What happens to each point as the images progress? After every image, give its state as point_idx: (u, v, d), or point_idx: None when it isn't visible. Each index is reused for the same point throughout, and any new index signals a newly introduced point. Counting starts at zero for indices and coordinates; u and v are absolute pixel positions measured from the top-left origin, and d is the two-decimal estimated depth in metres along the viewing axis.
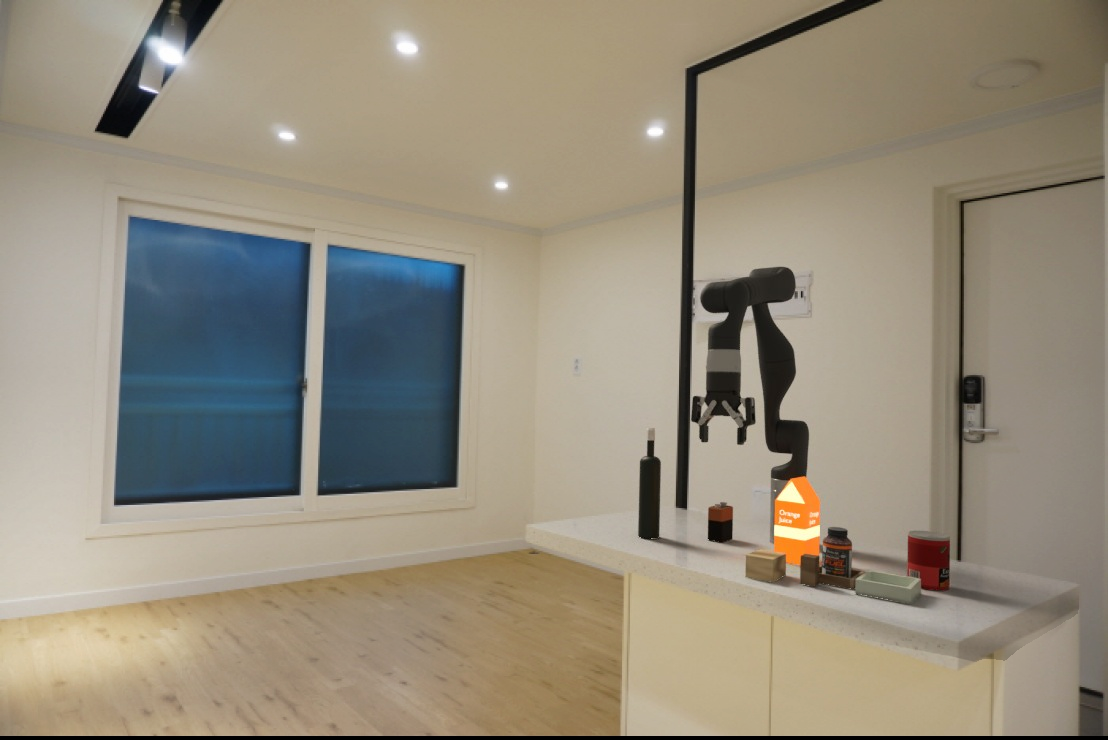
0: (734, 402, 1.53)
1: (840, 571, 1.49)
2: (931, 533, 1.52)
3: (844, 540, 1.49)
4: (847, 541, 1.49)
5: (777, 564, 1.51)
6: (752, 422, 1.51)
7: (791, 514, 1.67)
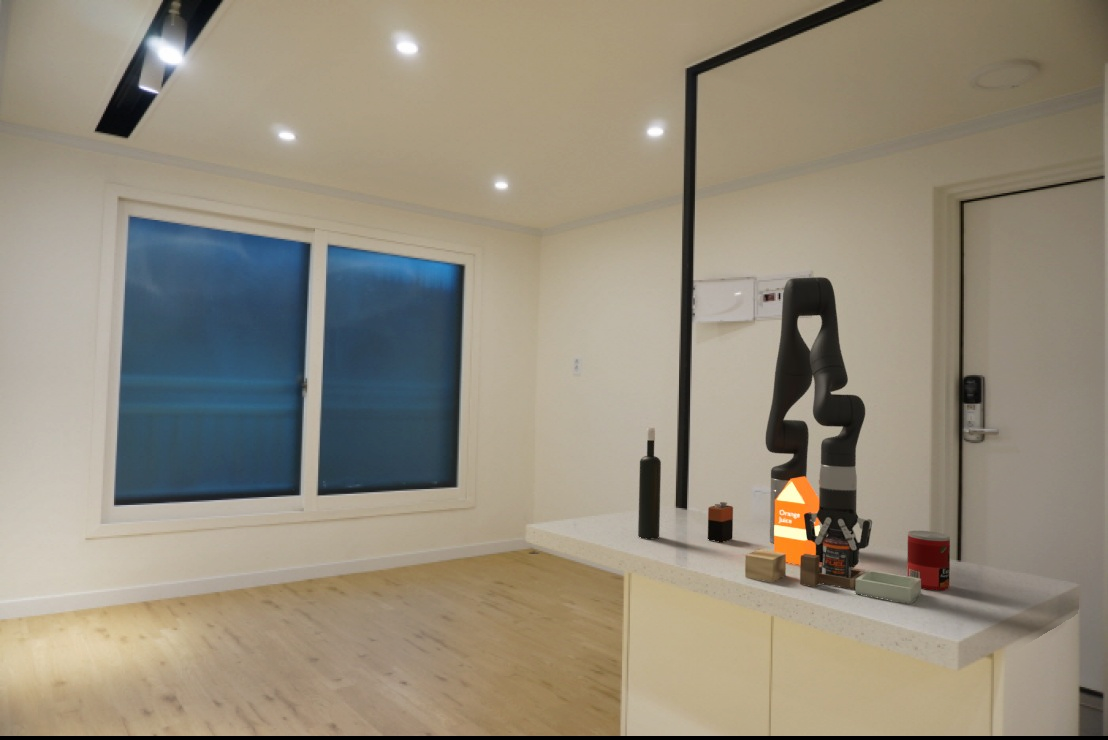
0: (851, 521, 1.49)
1: (840, 571, 1.49)
2: (931, 533, 1.52)
3: (844, 540, 1.49)
4: None
5: (777, 564, 1.51)
6: (866, 546, 1.48)
7: (791, 514, 1.67)
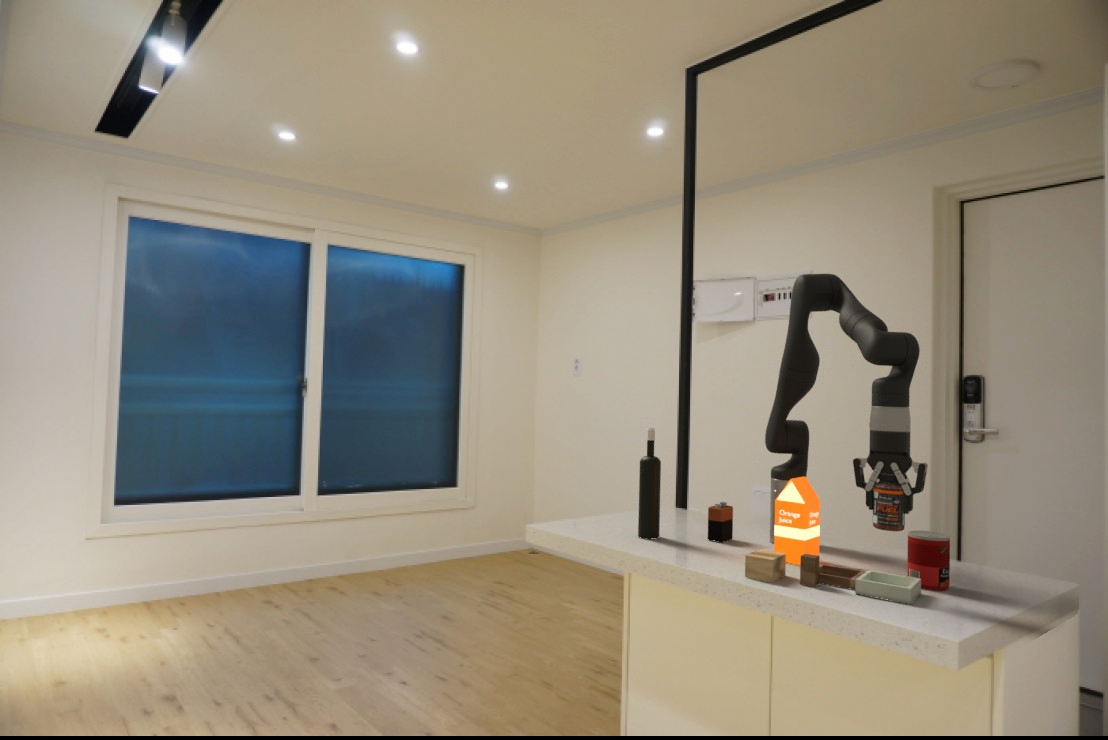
0: (905, 465, 1.40)
1: (893, 517, 1.40)
2: (931, 533, 1.52)
3: (897, 485, 1.41)
4: (901, 486, 1.41)
5: (776, 564, 1.51)
6: (921, 490, 1.39)
7: (791, 514, 1.66)
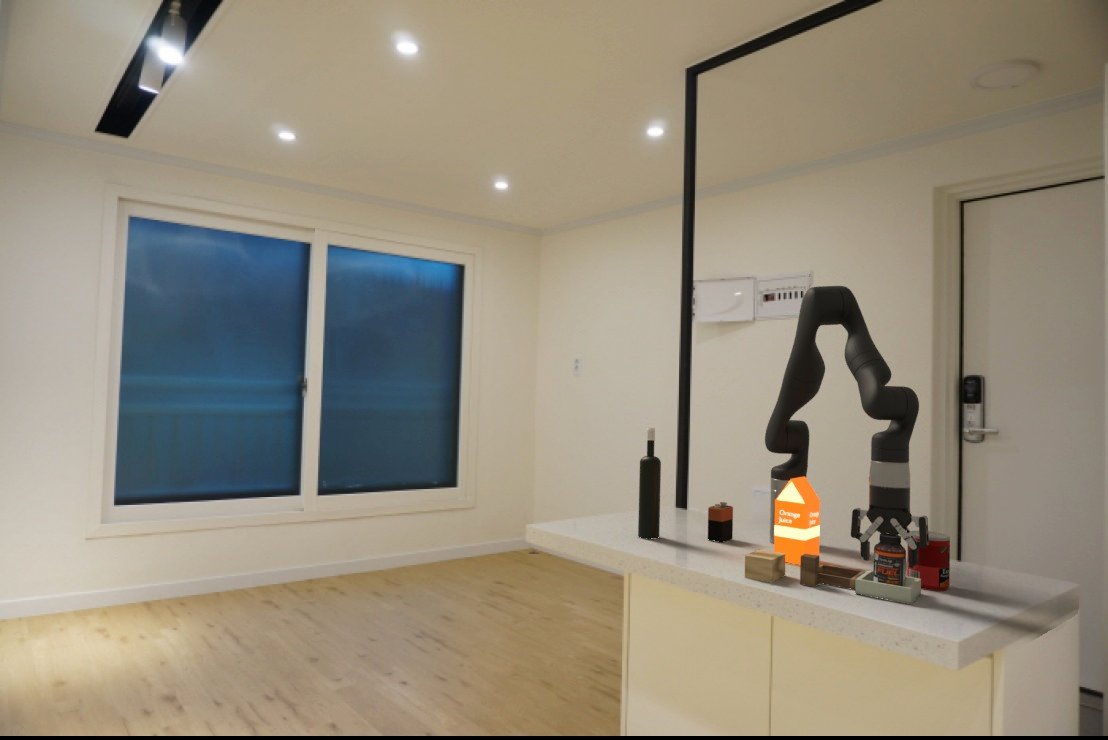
0: (905, 521, 1.40)
1: (894, 580, 1.39)
2: (931, 533, 1.52)
3: (897, 547, 1.40)
4: (901, 548, 1.40)
5: (776, 564, 1.51)
6: (927, 544, 1.38)
7: (791, 514, 1.67)
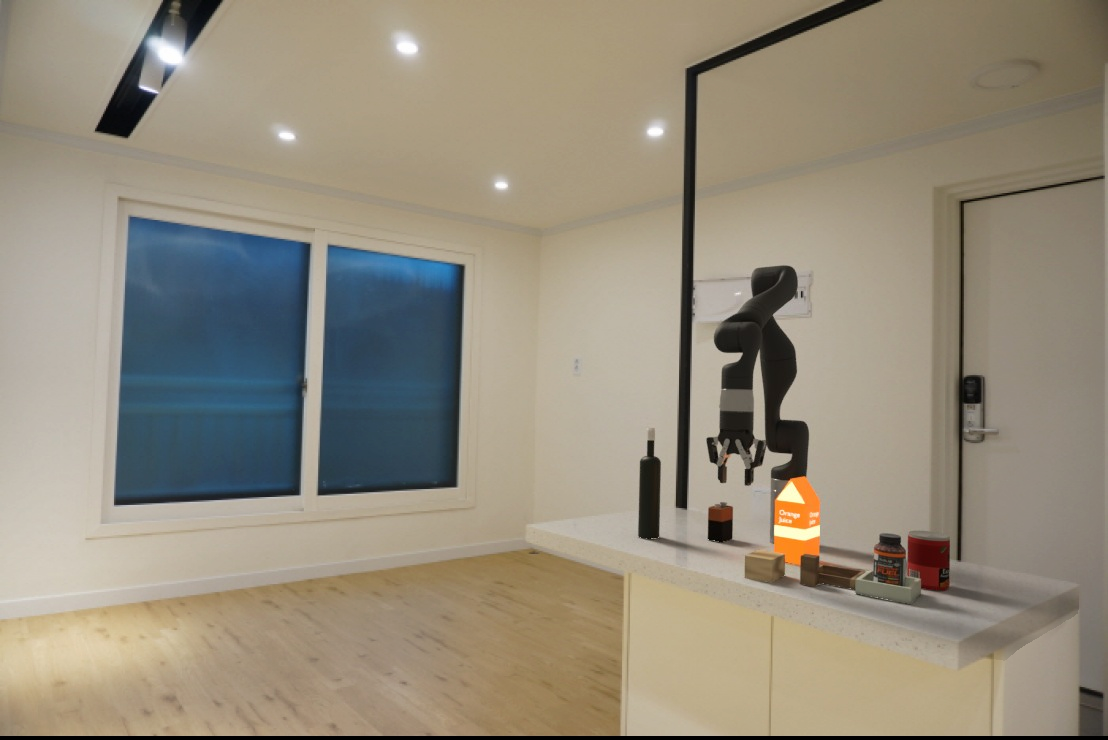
0: (747, 441, 1.57)
1: (894, 580, 1.39)
2: (931, 533, 1.52)
3: (897, 547, 1.40)
4: (901, 549, 1.40)
5: (776, 564, 1.51)
6: (759, 464, 1.55)
7: (791, 514, 1.67)
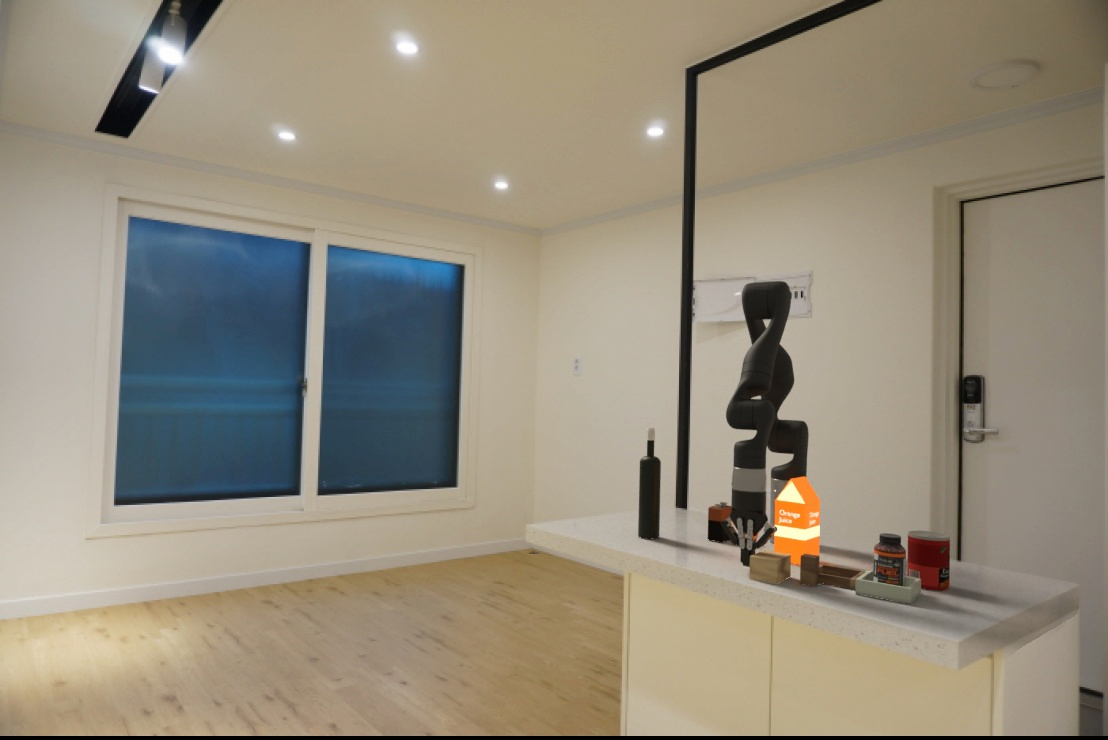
0: (760, 521, 1.54)
1: (894, 580, 1.39)
2: (931, 533, 1.52)
3: (897, 547, 1.40)
4: (901, 549, 1.40)
5: (781, 565, 1.50)
6: (760, 547, 1.54)
7: (791, 514, 1.67)
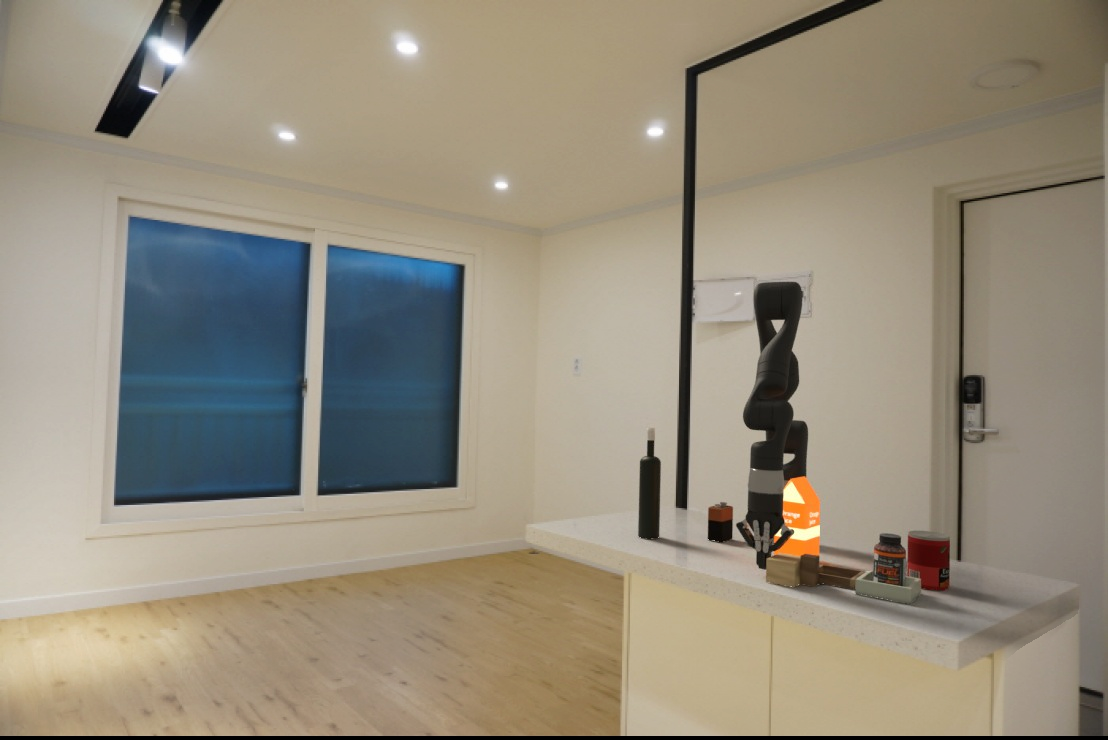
0: (777, 524, 1.51)
1: (894, 580, 1.39)
2: (931, 533, 1.52)
3: (897, 547, 1.40)
4: (901, 549, 1.40)
5: (799, 568, 1.47)
6: None
7: (791, 514, 1.67)
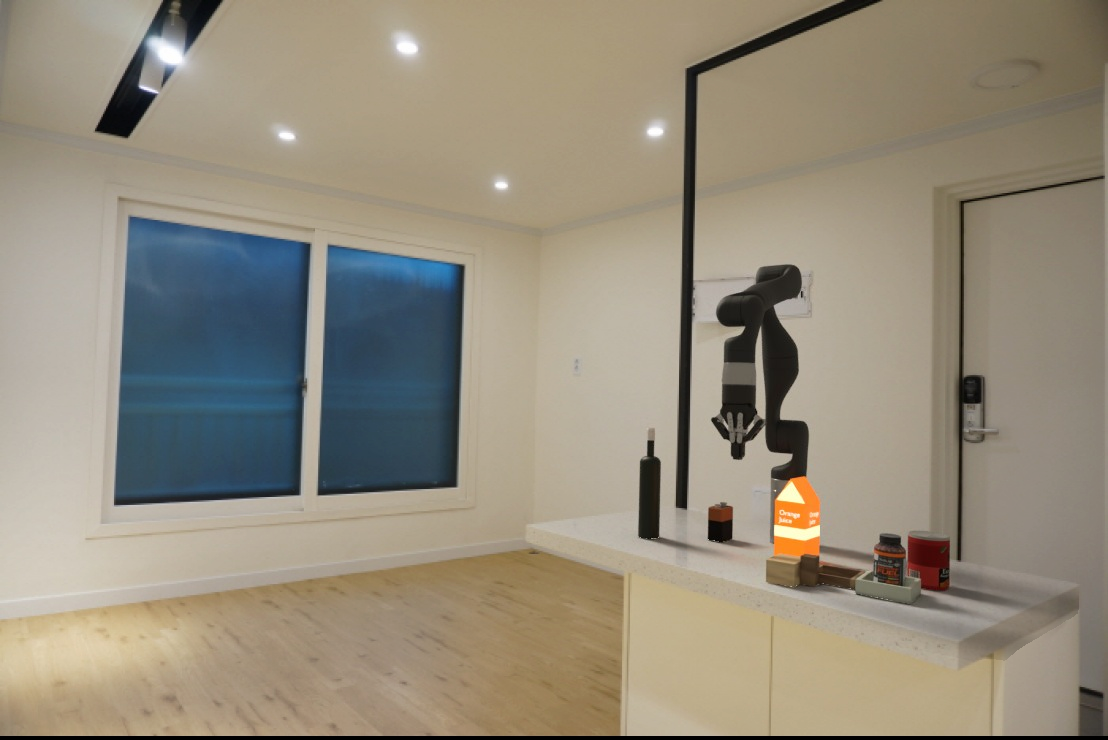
0: (750, 414, 1.56)
1: (894, 580, 1.39)
2: (931, 533, 1.52)
3: (897, 547, 1.40)
4: (901, 549, 1.40)
5: (798, 569, 1.47)
6: (750, 440, 1.57)
7: (791, 514, 1.67)
